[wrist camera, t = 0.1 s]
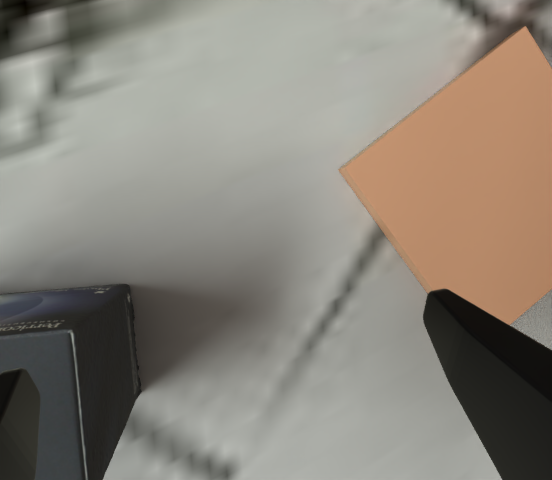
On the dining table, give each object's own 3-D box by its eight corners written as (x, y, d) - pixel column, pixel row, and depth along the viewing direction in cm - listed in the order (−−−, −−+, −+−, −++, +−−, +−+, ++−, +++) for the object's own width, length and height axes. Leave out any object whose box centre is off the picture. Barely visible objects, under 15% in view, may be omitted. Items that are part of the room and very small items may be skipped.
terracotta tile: (623, 212, 29) (641, 212, 27) (465, 346, 28) (477, 352, 26) (511, 34, 27) (525, 26, 26) (337, 169, 26) (344, 167, 25)
